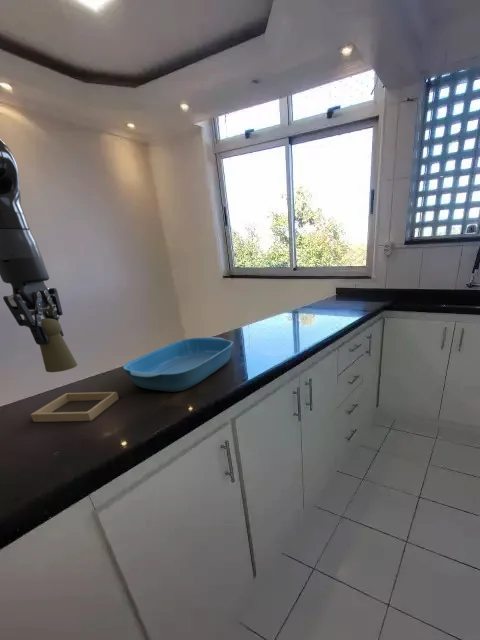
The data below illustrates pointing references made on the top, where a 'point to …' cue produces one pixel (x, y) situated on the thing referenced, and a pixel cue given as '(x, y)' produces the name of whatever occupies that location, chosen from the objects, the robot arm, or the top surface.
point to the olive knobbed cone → (56, 348)
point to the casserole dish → (179, 364)
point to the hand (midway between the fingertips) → (51, 340)
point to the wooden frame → (48, 415)
